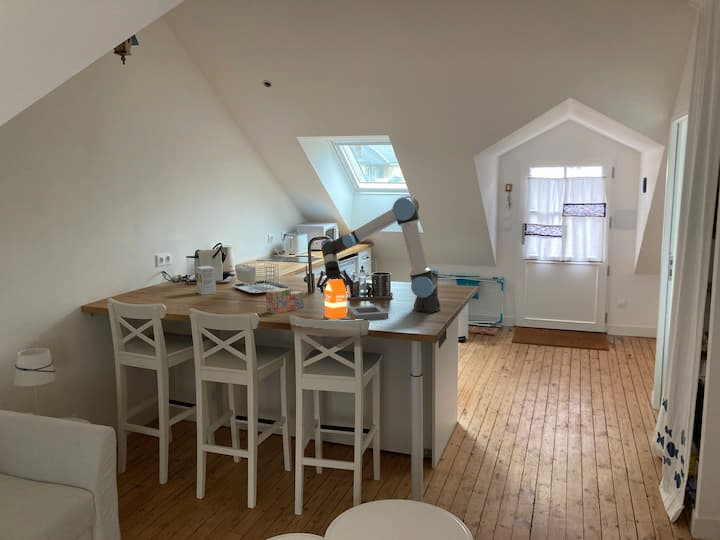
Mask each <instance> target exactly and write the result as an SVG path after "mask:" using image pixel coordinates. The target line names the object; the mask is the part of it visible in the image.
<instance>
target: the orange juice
mask: <svg viewBox="0 0 720 540" xmlns="http://www.w3.org/2000/svg"><path fill="white" fill-rule="evenodd" d="M324 288H325V294H326V298H325V299H324V315H325V317H328V318H330V319H337V318H343V317H346V315H347V287H346V285H345V284H344V283H343V280H342V279H332V280H331V279H329V280H328V281H327V282H326V286H325V287H324ZM325 317H324V318H325Z"/></svg>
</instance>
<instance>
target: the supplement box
mask: <svg viewBox="0 0 720 540" xmlns="http://www.w3.org/2000/svg"><path fill="white" fill-rule="evenodd" d="M195 270H196V271H195V273H196V293H198V294H199V295H202V296H204V295H205V296H206V295H213V294H214V295H215V294H217V288H216V287H217V285H216V284H217V281H216V267H213V266H211V265H204V266H202V265H201V266H196V267H195Z"/></svg>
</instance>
